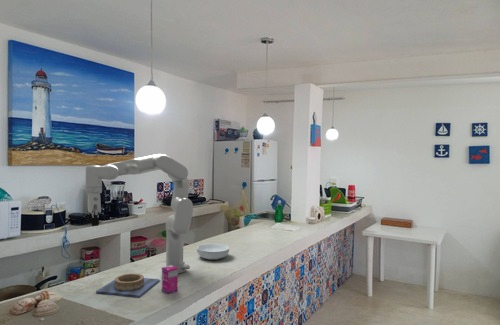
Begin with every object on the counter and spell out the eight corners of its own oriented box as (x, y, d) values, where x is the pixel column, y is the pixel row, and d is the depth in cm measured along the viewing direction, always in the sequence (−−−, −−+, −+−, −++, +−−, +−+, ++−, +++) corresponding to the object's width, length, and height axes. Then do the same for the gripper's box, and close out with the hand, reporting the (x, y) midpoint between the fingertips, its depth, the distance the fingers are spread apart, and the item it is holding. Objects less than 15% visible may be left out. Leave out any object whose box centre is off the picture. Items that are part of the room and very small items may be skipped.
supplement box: (160, 290, 178) (161, 267, 178) (171, 287, 183) (171, 264, 182) (167, 294, 174) (167, 270, 174) (178, 291, 179) (178, 267, 178)
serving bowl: (224, 264, 223) (224, 252, 223) (191, 261, 228) (191, 250, 227) (232, 254, 244) (233, 244, 244) (202, 252, 248) (202, 242, 248)
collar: (159, 281, 191) (159, 272, 191) (139, 297, 169) (139, 287, 169) (120, 277, 195) (120, 269, 195) (96, 293, 173) (96, 283, 173)
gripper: (105, 191, 179) (104, 226, 180) (98, 188, 194) (98, 220, 194) (88, 192, 175) (88, 227, 176) (82, 188, 190) (82, 221, 190)
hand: (93, 223), depth 185 cm, fingers open, 9 cm apart
